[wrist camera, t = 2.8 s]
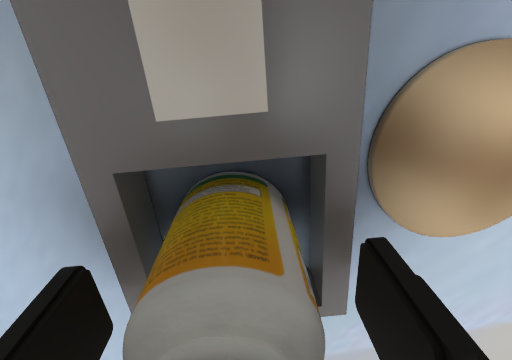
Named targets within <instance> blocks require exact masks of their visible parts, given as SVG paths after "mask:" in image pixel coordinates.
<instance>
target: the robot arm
mask: <svg viewBox="0 0 512 360" xmlns="http://www.w3.org/2000/svg"><path fill="white" fill-rule="evenodd" d="M355 304H356V308H357V311H358V313H359V315H360V317H361V320H362V322H363V324H364V326H365V328H366V330H367V333H368V335H369V337H370V339H371V341H372V343H373V346H374V348H375V350H376V352H377V354H378V357H379V359H380V360H489V359H488V357H487V356H486V355H485V354H484V353H483V351H482V350H481V349H480V348H479V347H478V345H477V344H476V343H475V342H474V340H473V339H472V338H471V337H470V335H469V334H468V333H467V332H466V331H465V329H464V328H463V327H462V326H461V325H460V323H459V322H458V321H457V320H456V318H455V317H454V316H453V315H452V314H451V312H450V311H449V310H448V309H447V308H446V306H445V305H444V304H443V303H442V301H441V300H440V299H439V298H438V297H437V295H436V294H435V293H434V292H433V291H432V289H431V288H430V287H429V286H428V284H427V283H426V282H425V281H424V280H423V279H422V278H421V277H420V276H418V275H415V274H414V272H413V271H412V270H411V269H410V267H409V266H408V265H407V264H406V262H405V261H404V260H403V259H402V258H401V256H400V255H399V254H398V253H397V251H396V250H395V249H394V248H393V246H392V245H391V244H390V243H389V241H388V240H387V239H386V238H384V237H379V238H368V239H366V241H365V243H362V244H361V246H360V256H359V266H358V276H357V286H356V296H355ZM112 331H113V323H112V321H111V318H110V316H109V314H108V311H107V309H106V307H105V305H104V302H103V300H102V298H101V295H100V293H99V291H98V288H97V286H96V284H95V282H94V279H93V277H92V275H91V273H90V271H89V270H86V269H85V267H83V266H73V267H64V268H61V269H60V270H59V271H58V272H57V273H56V275H55V276H54V277H53V278H52V279H51V280H50V281H49V283H48V284H47V285H46V286H45V287H44V288H43V290H42V291H41V292H40V293H39V294H38V295H37V296H36V298H35V299H34V300H33V301H32V302H31V303H30V305H29V306H28V307H27V308H26V309H25V310H24V311H23V313H22V314H21V315H20V316H19V317H18V318H17V319H16V321H15V322H14V323H13V324H12V325H11V326H10V328H9V329H8V330H7V331H6V332H5V333H4V334H3V336H2V337H1V338H0V360H100V358H101V355H102V353H103V351H104V349H105V347H106V345H107V343H108V341H109V339H110V337H111V334H112Z"/></svg>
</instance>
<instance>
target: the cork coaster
mask: <svg viewBox="0 0 512 360" xmlns="http://www.w3.org/2000/svg"><path fill="white" fill-rule="evenodd" d="M368 174H369V182H370V185H371V189H372V192H373V194H374V196H375V198H376V200H377V202H378V203H379V204H380V206H381V207H382V208H383V210H384V211H385V212H386V213H387V214H388V215H389V216H390V217H391V218H392V219H393V220H394V221H395V222H397V223H398V224H399V225H401V226H402V227H404V228H406V229H408V230H410V231H412V232H415V233H418V234H421V235H426V236H432V237H453V236H460V235H466V234H470V233H474V232H477V231H480V230H483V229H486V228H488V227H491V226H493V225H495V224H497V223H499V222H501V221H503V220H505V219H507V218H509V217H510V216H512V39H498V40H489V41H483V42H477V43H474V44H470V45H467V46H463V47H461V48H458V49H456V50H454V51H452V52H449V53H447V54H445V55H444V56H442V57H440V58H438V59H437V60H435V61H433V62H432V63H430V64H429V65H428V66H426V67H425V68H424V69H422V70H421V71H419V72H418V73H417V74H416V75H415V76H414V77H413V78H412V79H411V80H409V81H408V82H407V83H406V84H405V86H404V87H403V88H402V89H401V90H400V91H399V92H398V93H397V94H396V96H395V97H394V99H393V100H392V101H391V103H390V104H389V105H388V107H387V108H386V110H385V112H384V114H383V115H382V117H381V119H380V121H379V123H378V125H377V128H376V130H375V132H374V135H373V139H372V142H371V145H370V151H369V157H368Z"/></svg>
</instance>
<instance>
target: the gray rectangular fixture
mask: <svg viewBox="0 0 512 360" xmlns="http://www.w3.org/2000/svg"><path fill="white" fill-rule="evenodd" d="M10 2H11V4H12V7H13V10H14V12H15V15H16V17H17V20H18V23H19V25H20V28H21V30H22V33H23V35H24V38H25V41H26V43H27V46H28V48H29V51H30V53H31V56H32V59H33V61H34V64H35V66H36V69H37V72H38V74H39V77H40V79H41V82H42V84H43V87H44V90H45V92H46V95H47V97H48V100H49V103H50V105H51V108H52V110H53V113H54V115H55V118H56V121H57V123H58V126H59V128H60V131H61V133H62V136H63V139H64V141H65V144H66V146H67V149H68V152H69V154H70V157H71V159H72V162H73V164H74V167H75V170H76V172H77V175H78V177H79V180H80V183H81V185H82V188H83V190H84V193H85V195H86V198H87V201H88V203H89V206H90V208H91V211H92V213H93V216H94V219H95V221H96V224H97V226H98V229H99V232H100V234H101V237H102V239H103V242H104V244H105V247H106V250H107V252H108V255H109V257H110V260H111V262H112V265H113V268H114V270H115V273H116V275H117V278H118V281H119V283H120V286H121V288H122V291H123V293H124V296H125V299H126V301H127V304H128V306H129V309H130V312H131V314H132V312H133V310H134V308H135V305H136V303H137V301H138V298H139V296H140V294H141V292H142V290H143V287H144V285H145V283H146V280H147V278H148V276H149V274H150V272H151V269H152V267H153V265H154V262H155V260H156V258H157V256H158V254H159V251H160V249H161V247H162V244H163V242H162V238H161V234H160V231H159V227H158V224H157V220H156V216H155V213H154V209H153V205H152V202H151V198H150V195H149V191H148V187H147V184H146V180H145V176H144V173H143V171H147V170H158V169H168V168H179V167H190V166H201V165H212V164H223V163H234V162H245V161H256V160H267V159H278V158H289V157H300V156H310V269H307V273H308V276H309V279H310V283H311V286H312V290H313V293H314V296H315V300H316V303H317V306H318V310H319V313H320V317H324V316H335V315H345V314H346V311H347V299H348V287H349V275H350V264H351V252H352V240H353V228H354V216H355V205H356V193H357V181H358V169H359V158H360V146H361V134H362V122H363V111H364V99H365V87H366V75H367V64H368V52H369V40H370V28H371V16H372V5H373V0H10Z"/></svg>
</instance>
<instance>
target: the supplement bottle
mask: <svg viewBox="0 0 512 360" xmlns="http://www.w3.org/2000/svg"><path fill="white" fill-rule="evenodd" d="M324 354H325V335H324V329H323V325H322V321H321V317H320V313H319V310H318V306H317V303H316V300H315V296H314V293H313V290H312V286H311V283H310V279H309V276H308V273H307V269H306V265H305V263H304V259H303V256H302V253H301V249H300V246H299V243H298V239H297V236H296V232H295V228H294V225H293V222H292V218H291V215H290V212H289V209H288V206H287V204H286V202H285V200H284V198H283V196H282V195H281V193H280V192H279V191H278V190H277V189H276V188H275V187H274V186H273V185H272V184H271V183H270V182H268V181H266V180H265V179H263V178H261V177H259V176H257V175H254V174H250V173H244V172H221V173H216V174H213V175H210V176H208V177H206V178H204V179H202V180H201V181H199V182H198V183H196V184H195V185H194V186H193V187H192V188H191V189H190V190H189V191H188V192H187V194H186V195H185V197H184V198H183V200H182V202H181V204H180V206H179V209H178V211H177V213H176V215H175V217H174V219H173V222H172V224H171V226H170V228H169V231H168V233H167V235H166V238H165V240H164V242H163V244H162V247H161V249H160V251H159V254H158V256H157V258H156V260H155V262H154V265H153V267H152V269H151V272H150V274H149V276H148V278H147V280H146V283H145V285H144V287H143V290H142V292H141V294H140V296H139V298H138V301H137V303H136V305H135V308H134V310H133V312H132V314H131V317H130V319H129V322H128V324H127V328H126V331H125V334H124V341H123V360H324Z"/></svg>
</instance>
